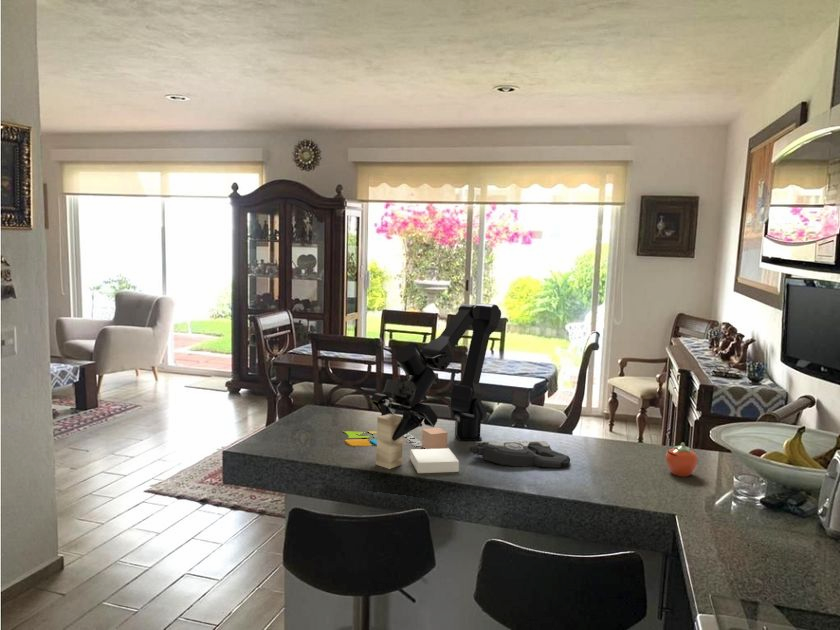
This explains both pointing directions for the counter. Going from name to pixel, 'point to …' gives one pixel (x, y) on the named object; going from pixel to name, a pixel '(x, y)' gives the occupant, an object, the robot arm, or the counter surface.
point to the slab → (434, 460)
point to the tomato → (681, 460)
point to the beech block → (388, 442)
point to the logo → (365, 441)
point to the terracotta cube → (434, 438)
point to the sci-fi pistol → (521, 453)
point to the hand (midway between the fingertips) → (385, 437)
